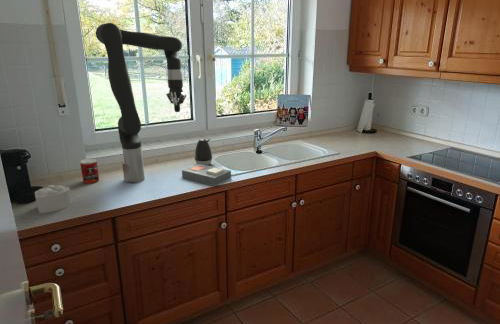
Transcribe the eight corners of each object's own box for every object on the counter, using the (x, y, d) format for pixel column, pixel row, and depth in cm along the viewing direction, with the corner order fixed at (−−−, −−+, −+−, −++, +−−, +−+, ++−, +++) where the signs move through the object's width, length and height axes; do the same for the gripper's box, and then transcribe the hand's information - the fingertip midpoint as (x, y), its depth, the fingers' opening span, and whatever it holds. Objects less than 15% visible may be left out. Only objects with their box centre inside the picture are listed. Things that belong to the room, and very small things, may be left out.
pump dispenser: (216, 164, 212) (215, 138, 207) (202, 168, 204) (201, 142, 200) (205, 160, 218) (203, 135, 214) (191, 164, 211) (189, 139, 206)
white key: (216, 179, 182) (215, 172, 181) (206, 177, 185) (206, 170, 184) (223, 175, 187) (223, 169, 186) (214, 173, 190) (214, 167, 189)
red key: (198, 177, 189) (197, 170, 188) (189, 175, 192) (189, 168, 191) (205, 173, 194) (205, 167, 193) (197, 171, 197) (197, 165, 196)
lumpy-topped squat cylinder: (36, 206, 158) (33, 187, 156) (69, 199, 165) (66, 181, 163) (39, 214, 150) (35, 195, 148) (73, 206, 157) (70, 188, 155)
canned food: (83, 185, 182) (80, 163, 179) (82, 180, 189) (79, 159, 185) (100, 182, 185) (97, 161, 182) (98, 177, 192) (95, 157, 189)
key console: (214, 185, 179) (214, 178, 178) (182, 177, 191) (181, 170, 190) (231, 178, 189) (230, 170, 188) (199, 170, 201) (198, 163, 200)
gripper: (160, 78, 190) (163, 111, 195) (178, 79, 182) (181, 114, 188) (171, 77, 196) (173, 109, 201) (189, 78, 188) (191, 111, 194)
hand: (177, 111), depth 194 cm, fingers closed
